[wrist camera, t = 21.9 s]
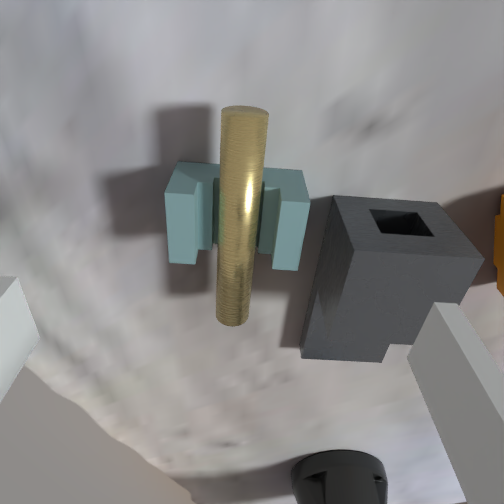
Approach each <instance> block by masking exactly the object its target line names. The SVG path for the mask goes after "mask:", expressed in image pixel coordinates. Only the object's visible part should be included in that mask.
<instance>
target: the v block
mask: <svg viewBox="0 0 504 504" xmlns="http://www.w3.org/2000/svg"><path fill="white" fill-rule="evenodd" d="M219 180H220V164H207V163H193V162H180V161H178V162H177V165H176V167H175V169H174V172H173V174H172V176H171V179H170V181H169V183H168V185H167V188H166V190H165V192H164V194H165V209H166V223H167V238H168V252H169V263H181V264H195V263H196V258H197V253H198V249H200V250H212V246H213V243H215V244H218V216H219ZM309 208H310V199H309V195H308V191H307V188H306V184H305V180H304V176H303V172H302V170H288V169H275V168H263V176H262V186H261V196H260V206H259V216H258V226H257V236H256V246H258V253H262V254H271V258H272V269H278V270H294V271H298V266H299V261H300V256H301V250H302V245H303V240H304V235H305V229H306V224H307V219H308V214H309Z"/></svg>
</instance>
